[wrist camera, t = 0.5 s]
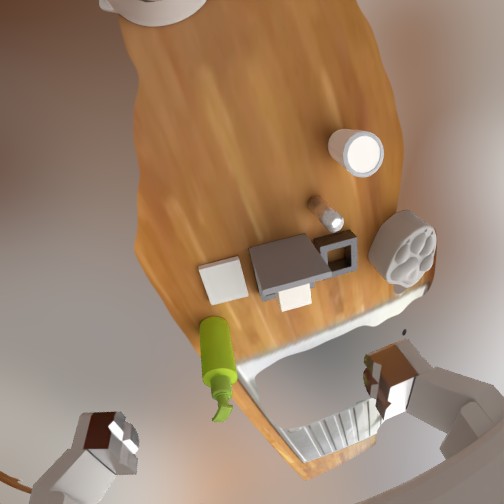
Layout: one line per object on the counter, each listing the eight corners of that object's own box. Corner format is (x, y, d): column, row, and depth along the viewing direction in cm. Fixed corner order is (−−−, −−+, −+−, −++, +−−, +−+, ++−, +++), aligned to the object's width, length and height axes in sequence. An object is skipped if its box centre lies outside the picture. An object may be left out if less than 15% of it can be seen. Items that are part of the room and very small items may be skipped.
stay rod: (306, 197, 49) (325, 216, 42) (322, 194, 49) (343, 212, 42) (308, 213, 50) (326, 234, 43) (324, 209, 50) (344, 229, 43)
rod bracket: (314, 238, 53) (320, 247, 50) (349, 229, 53) (357, 237, 50) (317, 271, 56) (322, 280, 54) (350, 261, 57) (357, 269, 54)
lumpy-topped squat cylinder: (362, 261, 57) (383, 286, 50) (391, 202, 52) (418, 221, 44) (397, 270, 60) (418, 294, 53) (425, 218, 55) (451, 237, 47)
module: (266, 260, 52) (277, 287, 46) (294, 253, 53) (309, 279, 46) (271, 284, 55) (282, 312, 48) (297, 277, 55) (311, 304, 49)
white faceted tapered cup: (325, 123, 43) (344, 129, 37) (363, 126, 44) (386, 133, 38) (323, 165, 46) (341, 177, 40) (360, 166, 47) (381, 178, 41)
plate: (198, 266, 51) (198, 269, 50) (238, 255, 52) (239, 259, 51) (211, 301, 56) (211, 305, 55) (247, 292, 56) (248, 296, 55)
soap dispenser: (195, 338, 60) (200, 422, 42) (203, 313, 57) (211, 401, 40) (222, 342, 61) (234, 425, 44) (232, 319, 59) (248, 404, 41)
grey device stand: (248, 247, 51) (262, 290, 41) (305, 233, 52) (331, 271, 42) (259, 293, 56) (273, 338, 46) (310, 279, 57) (333, 321, 47)
